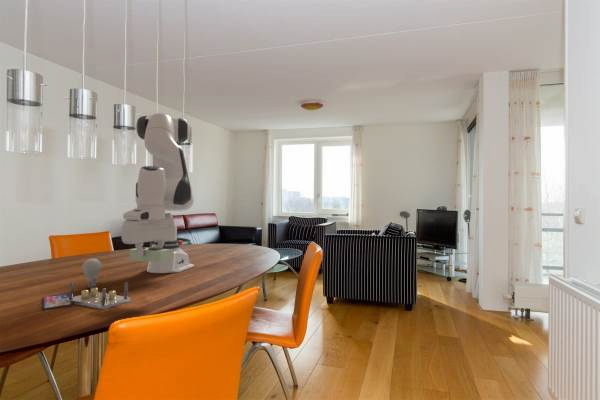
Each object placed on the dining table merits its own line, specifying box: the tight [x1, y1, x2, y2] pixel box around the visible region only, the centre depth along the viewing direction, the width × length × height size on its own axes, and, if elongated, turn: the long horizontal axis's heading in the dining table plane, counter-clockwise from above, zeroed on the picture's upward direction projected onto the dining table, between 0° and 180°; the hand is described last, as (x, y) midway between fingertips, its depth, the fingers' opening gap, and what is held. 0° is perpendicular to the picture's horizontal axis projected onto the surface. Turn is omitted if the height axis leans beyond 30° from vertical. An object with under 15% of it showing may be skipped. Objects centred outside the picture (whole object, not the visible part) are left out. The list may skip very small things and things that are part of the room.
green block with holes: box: [128, 246, 171, 262], centre depth 114 cm, size 6×12×4 cm, turn 76°
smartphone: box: [42, 293, 73, 311], centre depth 109 cm, size 8×1×15 cm
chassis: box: [66, 278, 132, 310], centre depth 110 cm, size 10×17×6 cm, turn 68°
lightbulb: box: [81, 258, 102, 289], centre depth 126 cm, size 6×6×11 cm
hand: (150, 254), depth 114 cm, fingers closed on green block with holes, 6 cm apart
